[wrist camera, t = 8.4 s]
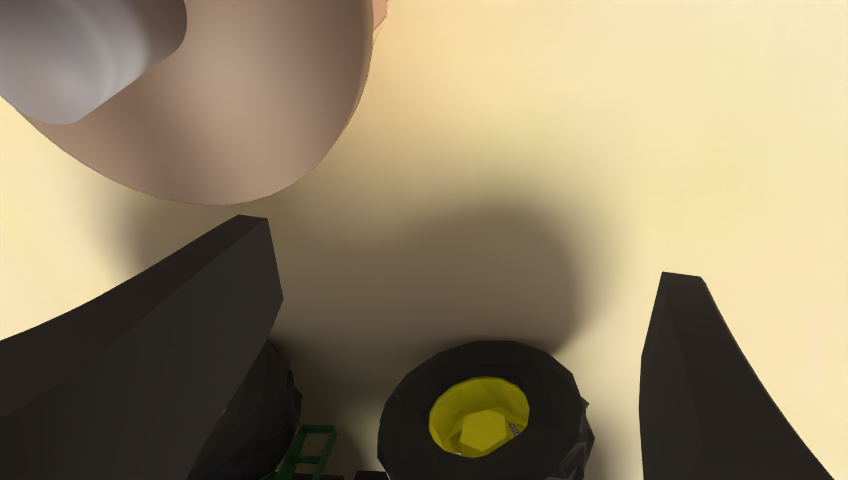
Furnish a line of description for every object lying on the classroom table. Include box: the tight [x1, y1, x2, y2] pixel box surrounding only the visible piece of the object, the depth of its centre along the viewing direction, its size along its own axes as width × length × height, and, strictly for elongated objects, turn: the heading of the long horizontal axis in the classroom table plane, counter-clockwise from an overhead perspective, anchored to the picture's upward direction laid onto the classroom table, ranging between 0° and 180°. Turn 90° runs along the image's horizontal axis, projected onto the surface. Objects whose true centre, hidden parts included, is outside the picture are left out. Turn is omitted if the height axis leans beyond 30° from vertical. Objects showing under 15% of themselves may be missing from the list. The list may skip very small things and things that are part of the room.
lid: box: [0, 0, 374, 205], centre depth 15 cm, size 12×12×4 cm
